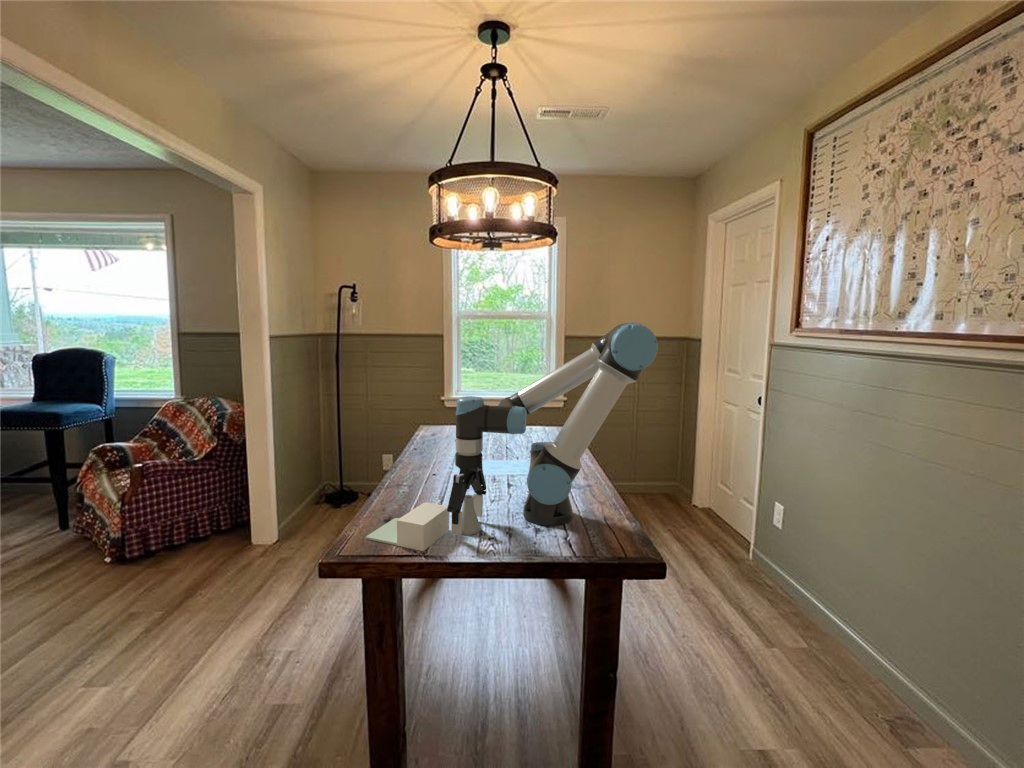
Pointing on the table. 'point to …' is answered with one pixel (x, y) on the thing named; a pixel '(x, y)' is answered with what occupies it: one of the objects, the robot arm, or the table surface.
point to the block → (422, 526)
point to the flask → (469, 517)
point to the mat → (385, 533)
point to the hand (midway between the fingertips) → (467, 524)
